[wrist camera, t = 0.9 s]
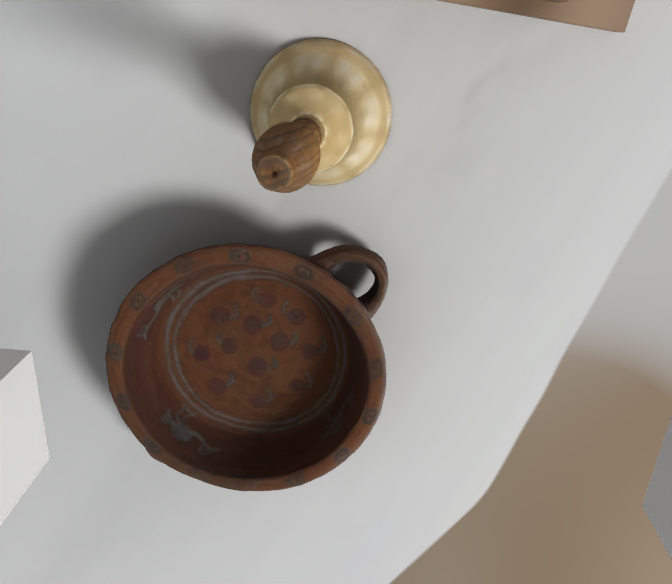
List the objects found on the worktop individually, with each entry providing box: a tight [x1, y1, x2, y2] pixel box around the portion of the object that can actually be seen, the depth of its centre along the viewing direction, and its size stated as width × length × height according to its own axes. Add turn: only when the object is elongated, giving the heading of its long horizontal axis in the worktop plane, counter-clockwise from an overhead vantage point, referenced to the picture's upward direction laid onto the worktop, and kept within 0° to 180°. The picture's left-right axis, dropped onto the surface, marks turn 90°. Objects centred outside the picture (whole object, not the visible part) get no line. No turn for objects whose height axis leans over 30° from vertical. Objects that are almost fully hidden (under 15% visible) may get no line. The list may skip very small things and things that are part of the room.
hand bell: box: [250, 39, 392, 193], centre depth 29 cm, size 8×8×16 cm
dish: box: [106, 243, 388, 491], centre depth 41 cm, size 18×22×5 cm
